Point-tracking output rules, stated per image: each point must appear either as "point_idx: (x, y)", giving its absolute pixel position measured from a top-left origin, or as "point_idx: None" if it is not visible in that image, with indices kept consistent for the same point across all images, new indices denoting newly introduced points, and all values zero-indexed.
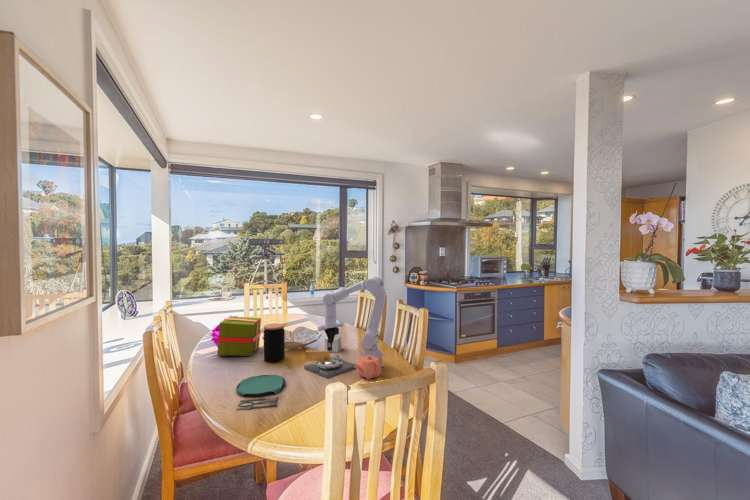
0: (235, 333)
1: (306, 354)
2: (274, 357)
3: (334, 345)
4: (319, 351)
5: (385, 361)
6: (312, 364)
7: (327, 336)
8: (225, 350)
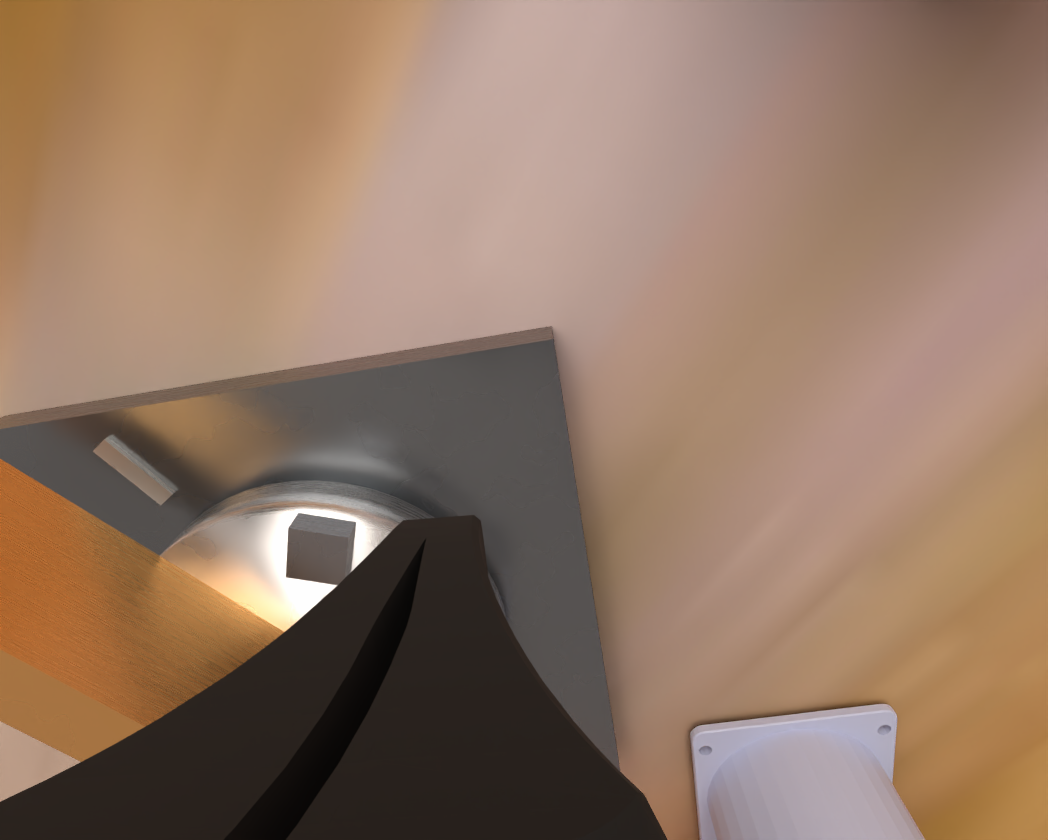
0: None
1: None
2: None
3: None
4: (51, 729)
5: (1026, 771)
6: (103, 470)
7: (300, 639)
8: None
